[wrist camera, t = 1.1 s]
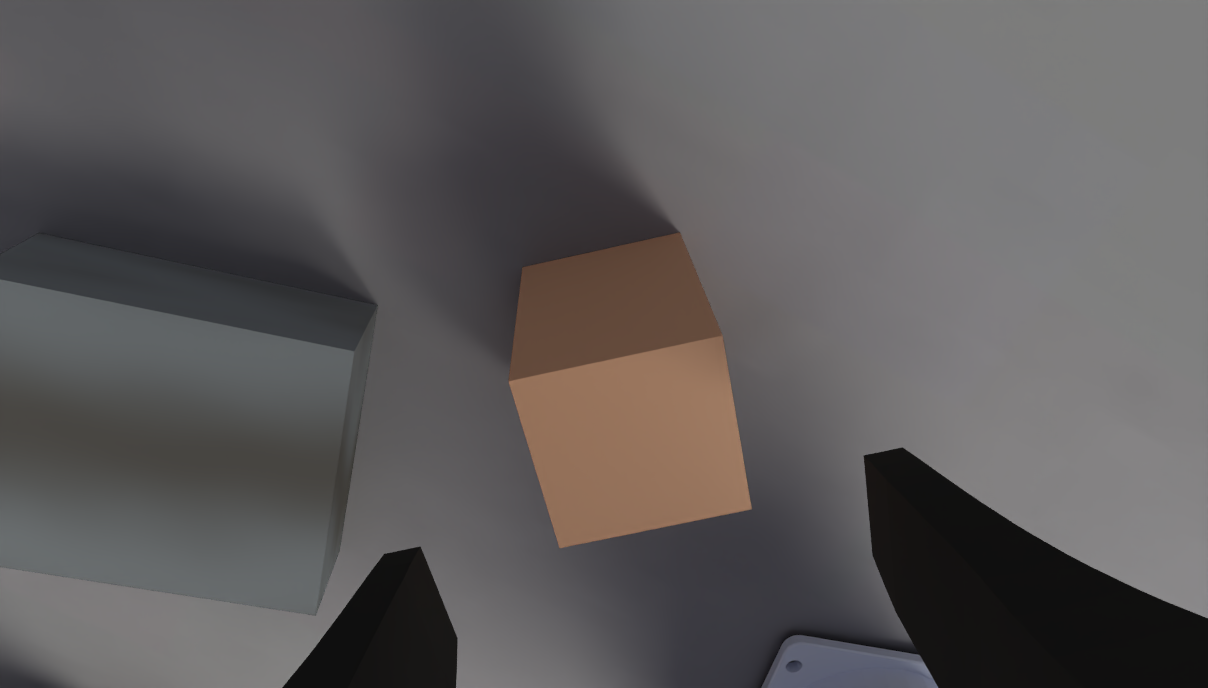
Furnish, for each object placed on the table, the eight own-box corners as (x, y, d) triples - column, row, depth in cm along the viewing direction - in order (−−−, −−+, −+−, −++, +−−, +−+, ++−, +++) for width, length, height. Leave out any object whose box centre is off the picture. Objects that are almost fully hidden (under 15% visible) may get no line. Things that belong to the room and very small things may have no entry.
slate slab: (342, 541, 24) (315, 615, 22) (54, 493, 23) (-12, 565, 20) (380, 299, 21) (354, 351, 18) (47, 228, 20) (-34, 272, 17)
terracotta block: (680, 232, 20) (722, 335, 15) (704, 371, 22) (752, 508, 17) (522, 267, 20) (508, 380, 15) (560, 402, 22) (559, 548, 17)
